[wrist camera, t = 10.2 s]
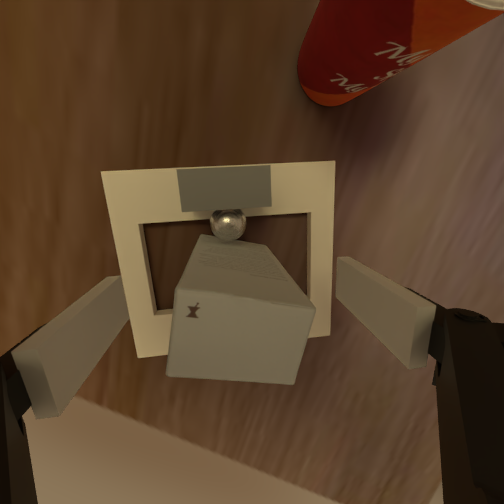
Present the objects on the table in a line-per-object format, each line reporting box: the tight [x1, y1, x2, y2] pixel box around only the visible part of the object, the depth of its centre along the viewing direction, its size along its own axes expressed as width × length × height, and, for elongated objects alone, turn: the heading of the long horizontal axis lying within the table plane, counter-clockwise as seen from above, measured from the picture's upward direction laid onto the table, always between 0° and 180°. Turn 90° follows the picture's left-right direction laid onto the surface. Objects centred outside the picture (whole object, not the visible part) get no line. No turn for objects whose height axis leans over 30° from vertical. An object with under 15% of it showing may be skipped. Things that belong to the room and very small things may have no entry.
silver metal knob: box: [210, 209, 246, 241], centre depth 17 cm, size 5×3×3 cm, turn 3°
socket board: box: [101, 161, 335, 358], centre depth 19 cm, size 16×18×6 cm
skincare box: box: [166, 234, 316, 385], centre depth 16 cm, size 6×4×12 cm
